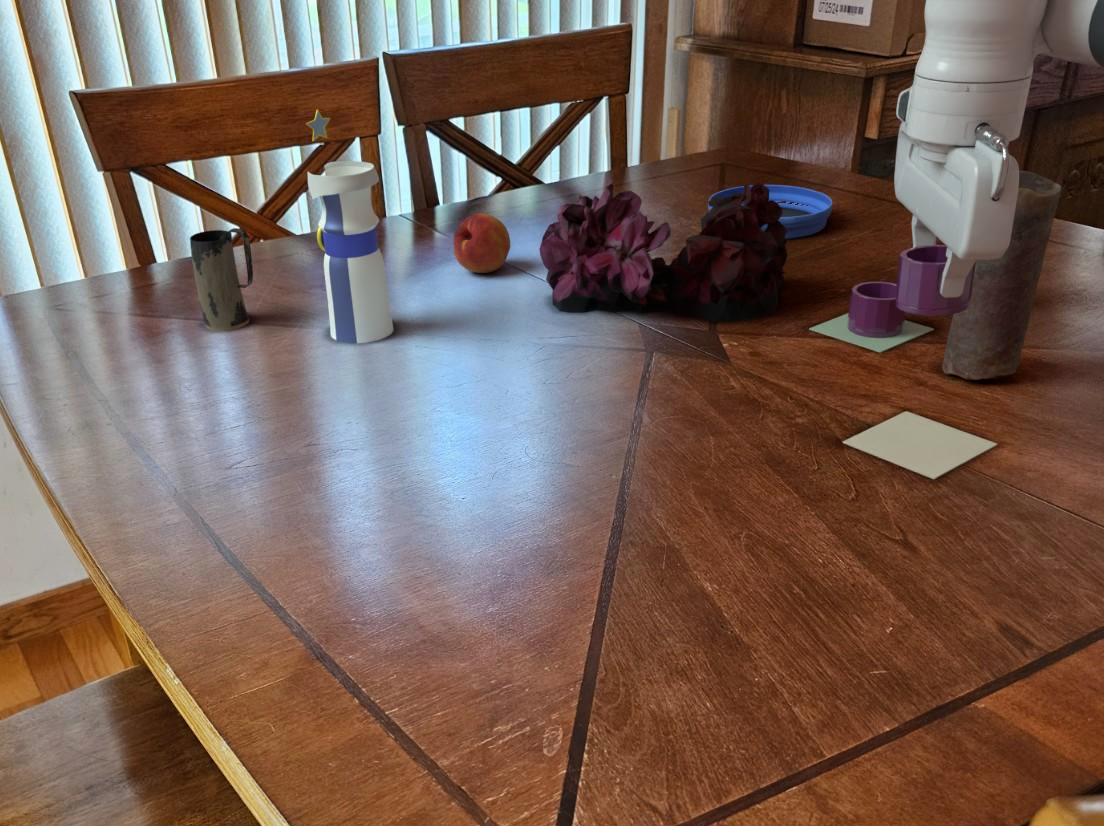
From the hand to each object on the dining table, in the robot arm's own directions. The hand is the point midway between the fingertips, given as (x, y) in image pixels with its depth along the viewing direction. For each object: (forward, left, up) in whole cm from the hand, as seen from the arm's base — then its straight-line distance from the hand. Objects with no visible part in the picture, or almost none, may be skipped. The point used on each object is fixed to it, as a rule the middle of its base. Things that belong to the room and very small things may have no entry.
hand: (934, 280), depth 97 cm
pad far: (+19, -20, -15) cm, 31 cm away
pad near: (-2, +1, -15) cm, 15 cm away
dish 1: (+19, -20, -15) cm, 31 cm away
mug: (+75, +34, -15) cm, 84 cm away
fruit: (+69, -1, -15) cm, 70 cm away
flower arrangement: (+43, -10, -15) cm, 46 cm away
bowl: (+56, -45, -15) cm, 73 cm away
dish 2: (0, 0, -2) cm, 2 cm away
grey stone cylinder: (+3, -18, -15) cm, 23 cm away
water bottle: (+61, +24, -15) cm, 67 cm away
